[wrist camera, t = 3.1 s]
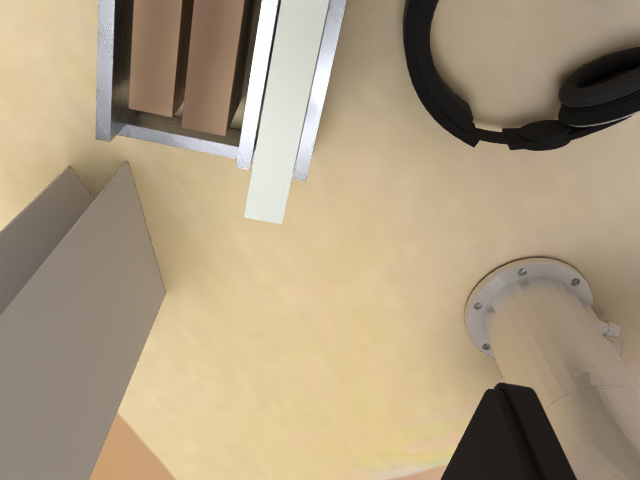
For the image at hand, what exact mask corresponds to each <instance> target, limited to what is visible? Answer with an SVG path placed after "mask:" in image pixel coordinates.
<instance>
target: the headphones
mask: <svg viewBox="0 0 640 480" xmlns="http://www.w3.org/2000/svg"><path fill="white" fill-rule="evenodd" d="M437 3H438V0H406V3H405V9H404V16H403V39H404V48H405V55H406V61H407V66H408V70H409V74H410V77H411V81H412V84H413V86H414V88H415V90H416V93H417V95H418V97H419V99H420V100H421V102H422V104H423V105H424V107H425V108H426V110H427V111H428V112H429V113H430V115H431V116H432V117H433V118H434V119H435V120H436V121H437V122H438V123H439V124H440V125H441V126H442V127H443V128H444V129H446V130H447V131H448V132H450V133H451V134H452V135H454V136H455V137H457V138H458V139H460V140H462V141H463V142H465V143H467V144H468V145H470V146H472V147H475V146H476V145H477V143H478V142H479V141H480V140H482V141H486V142H491V143H499V144H507V145H508V147H509V148H510V150H518V149H527V150H533V151H545V150H552V149H557V148H560V147H563V146H565V145H567V144H568V143H569V142H570V141H571V140H574V139H577V138H580V137H583V136H586V135H589V134H591V133H594V132H597V131H599V130H602V129H605V128H607V127H610V126H612V125H614V124H616V123H619V122H621V121H623V120H625V119H627V118H629V117H631V116H632V115H634V114H636V113H638V112H640V47H635V48H631V49H626V50H623V51H619V52H616V53H613V54H611V55H608V56H605V57H603V58H601V59H598V60H596V61H594V62H592V63H590V64H588V65H586V66H584V67H582V68H581V69H579V70H578V71H576V72H575V73H574V74H572V75H571V76H569V77H568V79H567V80H566V81H565V82H564V83H563V84H562V86H561V88H560V89H559V95H558V97H559V100H560V101H561V102H562V105H561V108H560V111H559V114H558V120H544V121H538V122H533V123H530V124H527V125H525V126H523V127H522V128H503V130H502V132H495V131H488V130H483V129H479V128H475V125H474V123H473V122H472V121H473V115H472V111H471V109H470V106H469V104H468V103H466V102H465V101H464V100H463V99H461V98H460V97H459V96H457V95H456V94H455V93H454V92H453V91H452V90H451V89H450V88H449V87H448V86H447V84H446V83H445V82H444V81H443V80H442V78H441V77H440V75H439V73H438V72H437V70H436V68H435V66H434V63H433V59H432V55H431V50H430V29H431V22H432V18H433V14H434V11H435V8H436V5H437Z"/></svg>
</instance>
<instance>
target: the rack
mask: <svg viewBox="0 0 640 480" xmlns="http://www.w3.org/2000/svg"><path fill="white" fill-rule="evenodd" d="M346 2H347V0H329V5H328V9H327V14H326V19H325V23H324V28H323V33H322V38H321V42H320V47H319V52H318V57H317V61H316V66H315V71H314V75H313V80H312V85H311V90H310V94H309V99H308V104H307V108H306V113H305V118H304V123H303V127H302V132H301V137H300V141H299V146H298V151H297V156H296V160H295V165H294V170H293V179H296V180H301V181H306V179H307V174H308V170H309V165H310V161H311V157H312V152H313V148H314V143H315V139H316V135H317V130H318V126H319V121H320V117H321V112H322V108H323V104H324V99H325V95H326V90H327V86H328V82H329V77H330V73H331V68H332V64H333V59H334V55H335V51H336V46H337V42H338V37H339V33H340V28H341V24H342V20H343V15H344V11H345V6H346ZM280 6H281V0H262V4H261V10H260V16H259V23H258V29H257V36H256V42H255V49H254V55H253V61H252V68H251V74H250V81H249V87H248V93H247V100H246V106H245V113H244V119H243V125H242V130H237V129H232V128H229V129H228V131H227V133H226V136H221V135H216V134H211V133H207V132H202V131H197V130H192V129H187V128H182V118H180V117H175V116H172V117H167V116H163V115H158V114H153V113H148V112H144V111H139V110H134V109H129V91H130V71H131V51H132V31H133V11H134V0H98V46H97V96H96V139H98V140H103V141H108V142H110V141H111V140H112V139H113V138H114V137H115V136H116V135H121V136H126V137H131V138H136V139H141V140H146V141H151V142H156V143H161V144H166V145H170V146H175V147H180V148H185V149H190V150H195V151H200V152H205V153H210V154H215V155H220V156H225V157H230V158H235V159H237V164H236V167H237V168H242V169H247V170H250V167H251V163H252V162H254V157H255V151H256V145H257V139H258V133H259V128H260V122H261V116H262V110H263V104H264V99H265V93H266V87H267V81H268V75H269V70H270V64H271V58H272V52H273V46H274V40H275V35H276V29H277V23H278V17H279V11H280Z"/></svg>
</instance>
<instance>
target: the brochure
mask: <svg viewBox="0 0 640 480" xmlns="http://www.w3.org/2000/svg"><path fill="white" fill-rule="evenodd" d="M165 294H166V292H165V289H164V285H163V282H162V278H161V275H160V271H159V268H158V264H157V260H156V257H155V253H154V250H153V246H152V243H151V239H150V236H149V232H148V229H147V225H146V222H145V218H144V215H143V211H142V208H141V204H140V201H139V197H138V194H137V190H136V187H135V183H134V180H133V176H132V173H131V169H130V166H129V162H125V163H124V164H123V165H122V167H121V168H120V169H119V170H118V172H117V173H116V174H115V175H114V176H113V178H112V179H111V180H110V181H109V183H108V184H107V185H106V186H105V188H104V189H103V190H102V191H101V192H100V194H99V195H98V196H97V197H96V199H94V197H93V196H92V195H91V193H90V192H89V191H88V189H87V188H86V187H85V185H84V184H83V183H82V181H81V180H80V179H79V177H78V176H77V175H76V173H75V172H74V171H73V169H72V168H71V167H67V168H66V169H65V170H64V171H63V172H62V173H61V174H60V175H59V176H58V177H57V178H56V179H55V180H54V181H53V182H52V183H50V184H49V185H48V186H47V187H46V188H45V189H44V190H43V191H42V192H41V193H40V194H39V195H38V196H37V197H36V198H35V199H34V200H33V201H32V202H31V203H30V204H29V205H28V206H27V207H26V208H25V209H24V210H23V211H21V212H20V213H19V214H18V215H17V216H16V217H15V218H14V219H13V220H12V221H11V222H10V223H9V224H8V225H7V226H6V227H5V228H4V229H3V230H2V231H1V232H0V480H89V479H90V476H91V474H92V471H93V469H94V467H95V464H96V462H97V459H98V457H99V454H100V452H101V450H102V447H103V445H104V442H105V440H106V437H107V435H108V433H109V430H110V428H111V425H112V423H113V421H114V418H115V415H116V413H117V411H118V408H119V406H120V403H121V401H122V399H123V396H124V394H125V391H126V389H127V386H128V384H129V382H130V379H131V377H132V374H133V372H134V369H135V367H136V365H137V362H138V360H139V357H140V355H141V352H142V350H143V348H144V345H145V343H146V340H147V338H148V335H149V333H150V330H151V328H152V326H153V323H154V321H155V318H156V316H157V313H158V311H159V309H160V306H161V304H162V301H163V299H164V296H165Z"/></svg>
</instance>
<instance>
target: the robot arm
mask: <svg viewBox="0 0 640 480" xmlns="http://www.w3.org/2000/svg"><path fill="white" fill-rule="evenodd" d="M592 308H593V297H592V293H591V290H590V287H589V285H588V284H587V282H586V281H585V279H584V278H583V277H582V276H581V274H580V273H579V272H578V271H577V270H576V269H574V268H573V267H571V266H570V265H568V264H566V263H563V262H561V261H558V260H554V259H548V258H529V259H522V260H519V261H515V262H512V263H509V264H507V265H504V266H502V267H500V268H498V269H496V270H495V271H493V272H492V273H490V274H489V275H487V276H486V277H485V278H484V279H483V280H482V281H481V282H480V283H479V284H478V285H477V286H476V288H475V289H474V290H473V292H472V293H471V295H470V297H469V299H468V301H467V305H466V308H465V325H466V329H467V332H468V334H469V336H470V339H471V340H472V342H473V343H474V345H475V346H476V347H477V348H478V349H479V350H480V351H482V352H483V353H485V354H487V355H488V356H490V357H492V358H495V360H496V362H497V365H498V367H499V369H500V372H501V374H502V377H503V379H504V381H505V383H499V384H497V385H496V386H495V388H494V389H488V390H486V392H485V393H484V395H483V397H482V399H481V401H480V403H479V405H478V407H477V409H476V411H475V413H474V415H473V417H472V419H471V421H470V423H469V425H468V427H467V429H466V431H465V433H464V435H463V437H462V438H461V440H460V442H459V444H458V446H457V448H456V450H455V452H454V454H453V456H452V458H451V460H450V462H449V464H448V466H447V468H446V470H445V472H444V474H443V476H442V478H441V480H640V386H639V385H638V383H637V382H636V380H635V379H634V378H633V376H632V375H631V373H630V372H629V370H628V369H627V368H626V366H625V365H624V363H623V362H622V361H621V359H620V357H621V353H622V348H621V345H620V344H619V343H618V342H615V341H609V340H607V339H606V338H605V336H604V335H607V336H612V337H618V336H619V335H620V332H621V327H620V325H619V324H618V323H613V322H608V321H600V320H599V319H598V317H597V316H596V314H595V313H594V312H593V310H592Z"/></svg>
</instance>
